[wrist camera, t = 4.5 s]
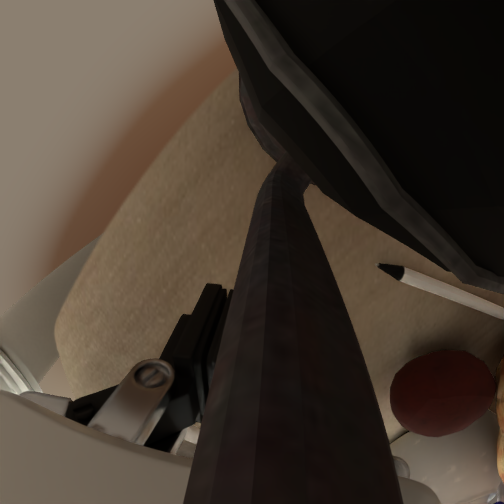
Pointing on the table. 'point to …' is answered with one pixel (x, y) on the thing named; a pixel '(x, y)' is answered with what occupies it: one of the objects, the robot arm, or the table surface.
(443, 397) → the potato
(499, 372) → the seashell
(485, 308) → the pen
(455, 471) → the teapot
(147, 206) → the table surface
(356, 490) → the lantern
